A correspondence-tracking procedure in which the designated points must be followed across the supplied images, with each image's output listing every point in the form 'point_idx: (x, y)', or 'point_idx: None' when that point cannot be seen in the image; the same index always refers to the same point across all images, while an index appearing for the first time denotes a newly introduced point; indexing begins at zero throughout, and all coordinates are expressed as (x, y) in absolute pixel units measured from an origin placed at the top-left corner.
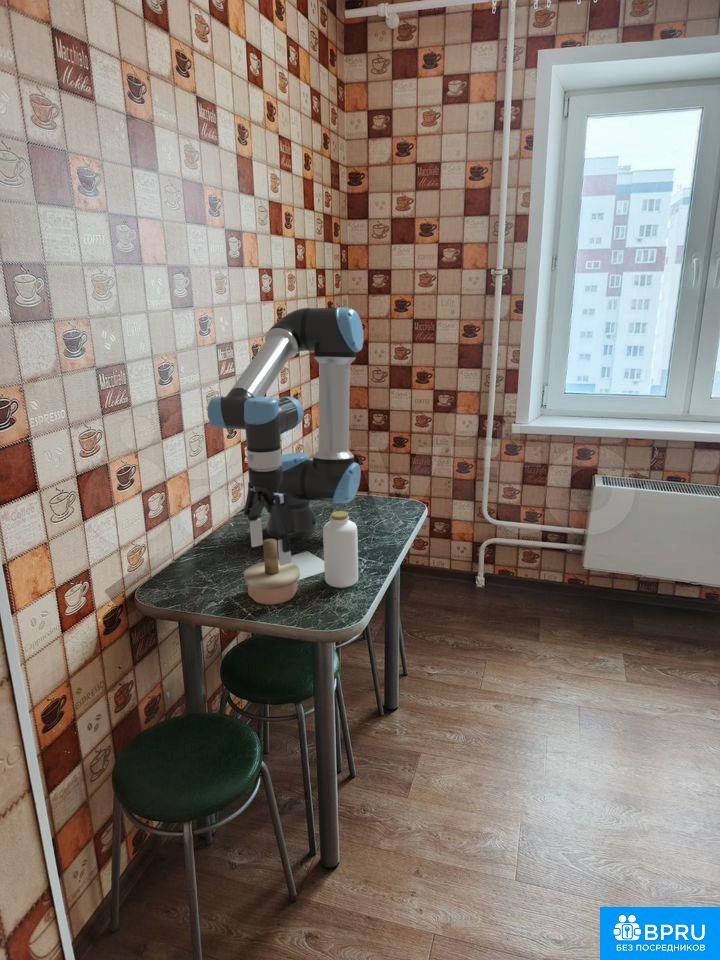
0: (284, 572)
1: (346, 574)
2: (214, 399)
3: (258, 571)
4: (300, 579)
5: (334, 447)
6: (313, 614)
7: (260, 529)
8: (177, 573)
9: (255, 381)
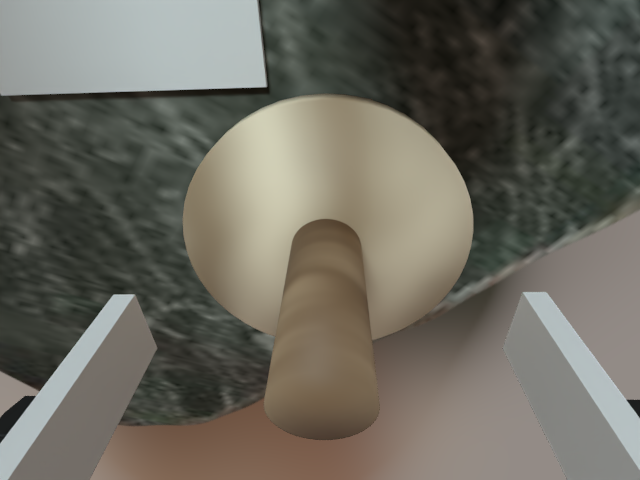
0: (374, 205)
1: None
2: None
3: (281, 288)
4: (258, 9)
5: None
6: (575, 139)
7: (66, 411)
8: (15, 343)
9: None
